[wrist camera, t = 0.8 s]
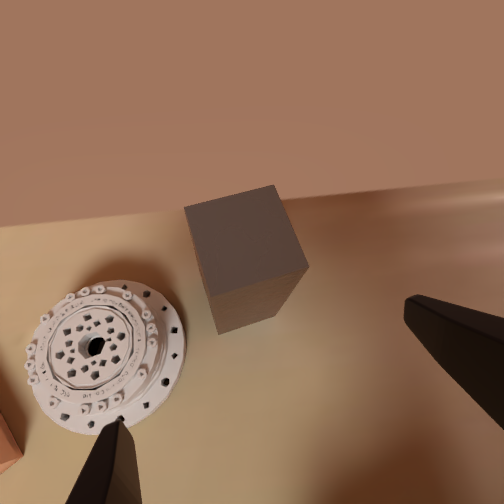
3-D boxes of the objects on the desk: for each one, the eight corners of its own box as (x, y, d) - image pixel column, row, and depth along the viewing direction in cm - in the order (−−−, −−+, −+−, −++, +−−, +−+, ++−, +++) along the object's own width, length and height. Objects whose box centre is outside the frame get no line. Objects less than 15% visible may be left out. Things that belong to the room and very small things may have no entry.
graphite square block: (274, 315, 24) (309, 266, 14) (218, 334, 23) (210, 297, 13) (255, 263, 26) (273, 184, 15) (202, 279, 25) (183, 207, 15)
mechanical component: (170, 269, 25) (36, 306, 23) (158, 247, 21) (-5, 290, 19) (201, 400, 22) (47, 455, 20) (195, 404, 18) (0, 474, 16)
